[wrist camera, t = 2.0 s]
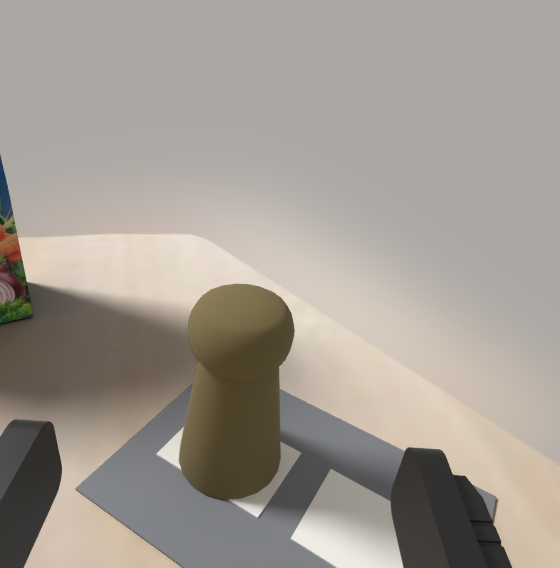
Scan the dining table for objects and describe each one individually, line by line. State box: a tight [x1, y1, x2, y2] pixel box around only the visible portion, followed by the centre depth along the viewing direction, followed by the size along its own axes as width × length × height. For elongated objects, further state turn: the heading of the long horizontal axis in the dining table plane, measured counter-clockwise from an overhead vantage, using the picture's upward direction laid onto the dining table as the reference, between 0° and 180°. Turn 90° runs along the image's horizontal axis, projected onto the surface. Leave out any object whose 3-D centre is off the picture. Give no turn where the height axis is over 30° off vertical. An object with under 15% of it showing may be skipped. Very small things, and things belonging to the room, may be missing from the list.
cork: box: [179, 284, 295, 499], centre depth 25 cm, size 6×6×11 cm
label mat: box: [75, 384, 496, 568], centre depth 26 cm, size 20×13×1 cm, turn 60°
